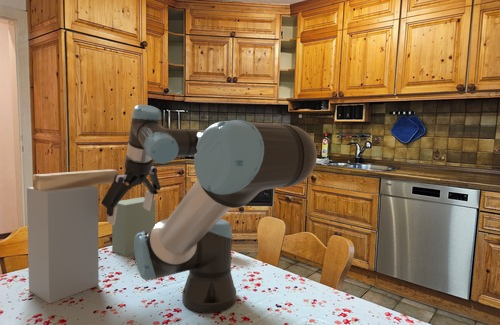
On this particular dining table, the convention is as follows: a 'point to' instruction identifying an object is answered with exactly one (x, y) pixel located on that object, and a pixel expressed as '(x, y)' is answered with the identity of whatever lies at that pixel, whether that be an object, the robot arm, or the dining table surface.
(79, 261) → the stand
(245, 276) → the dining table surface
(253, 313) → the dining table surface
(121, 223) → the sage green block
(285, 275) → the dining table surface
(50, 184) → the tan wooden bar
